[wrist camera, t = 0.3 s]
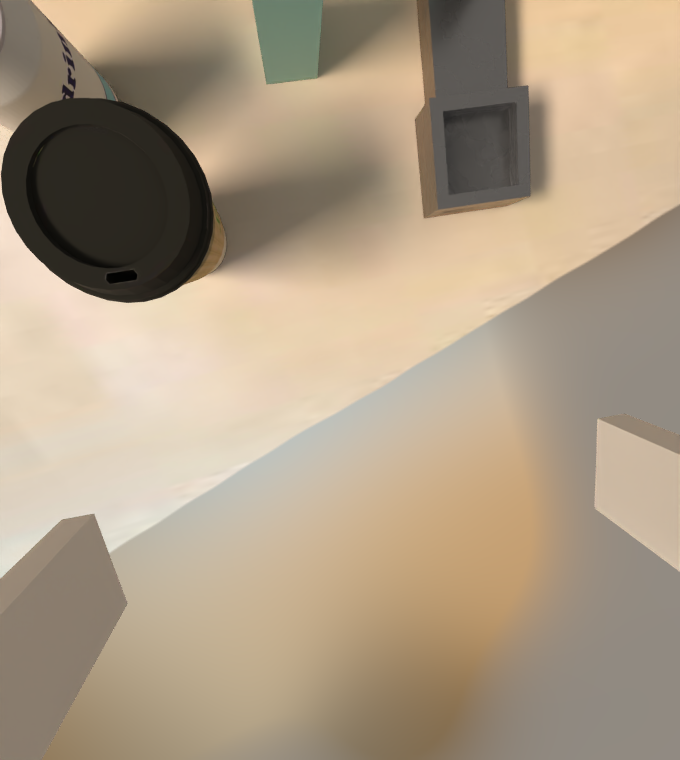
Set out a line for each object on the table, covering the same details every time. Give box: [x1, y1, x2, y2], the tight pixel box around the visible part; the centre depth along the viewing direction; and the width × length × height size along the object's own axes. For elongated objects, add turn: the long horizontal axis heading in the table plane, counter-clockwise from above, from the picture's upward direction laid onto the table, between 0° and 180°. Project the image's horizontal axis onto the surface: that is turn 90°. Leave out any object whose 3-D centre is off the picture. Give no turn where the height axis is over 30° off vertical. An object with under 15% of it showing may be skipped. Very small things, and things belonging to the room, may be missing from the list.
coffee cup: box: [1, 98, 227, 303], centre depth 25 cm, size 10×10×15 cm
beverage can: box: [0, 0, 119, 132], centre depth 23 cm, size 7×7×12 cm
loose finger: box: [252, 0, 323, 84], centre depth 25 cm, size 5×4×9 cm
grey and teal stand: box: [415, 0, 530, 218], centre depth 26 cm, size 22×8×11 cm, turn 9°
